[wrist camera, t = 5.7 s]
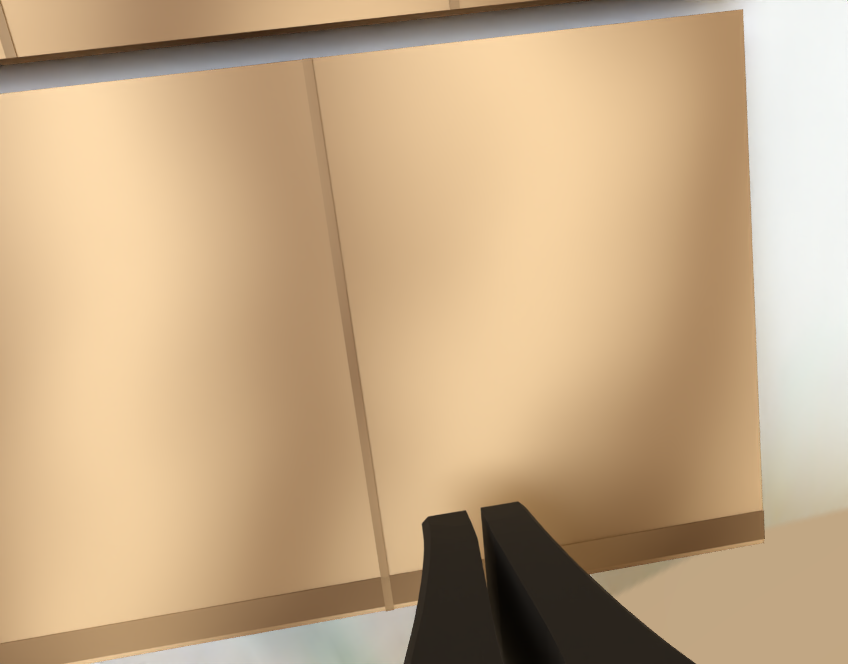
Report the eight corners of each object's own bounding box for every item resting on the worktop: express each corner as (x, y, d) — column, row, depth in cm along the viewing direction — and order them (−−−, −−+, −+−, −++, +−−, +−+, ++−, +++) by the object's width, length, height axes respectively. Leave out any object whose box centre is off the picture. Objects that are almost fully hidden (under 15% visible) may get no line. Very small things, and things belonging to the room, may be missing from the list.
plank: (-151, 670, 14) (-196, 715, 13) (-317, 143, 12) (-390, 137, 11) (732, 517, 16) (765, 543, 14) (708, 25, 14) (743, 9, 13)
